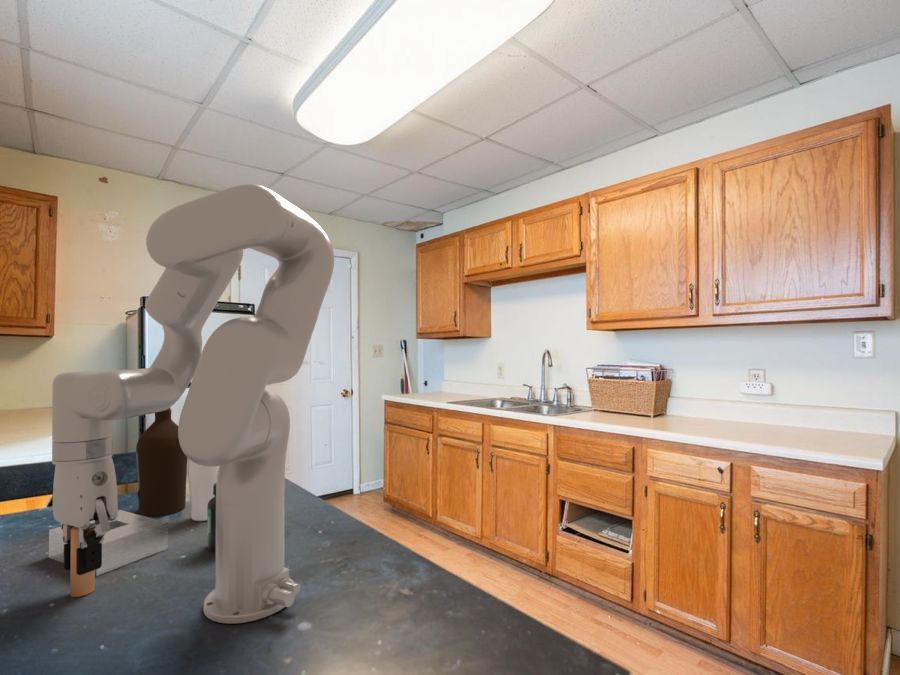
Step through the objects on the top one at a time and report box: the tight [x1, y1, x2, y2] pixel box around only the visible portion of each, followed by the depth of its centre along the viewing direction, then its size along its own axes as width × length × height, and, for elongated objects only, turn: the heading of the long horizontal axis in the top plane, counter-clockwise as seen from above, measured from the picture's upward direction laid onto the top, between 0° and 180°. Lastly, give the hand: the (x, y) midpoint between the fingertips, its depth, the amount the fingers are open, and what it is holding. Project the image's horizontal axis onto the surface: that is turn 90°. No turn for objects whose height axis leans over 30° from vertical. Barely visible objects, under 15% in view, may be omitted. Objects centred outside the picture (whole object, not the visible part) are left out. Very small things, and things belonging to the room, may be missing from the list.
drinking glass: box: [187, 458, 219, 522], centre depth 106 cm, size 7×7×15 cm
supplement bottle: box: [206, 483, 216, 553], centre depth 91 cm, size 7×7×12 cm
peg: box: [69, 527, 96, 598], centre depth 74 cm, size 3×3×10 cm
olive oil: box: [135, 407, 188, 518], centre depth 112 cm, size 11×11×25 cm
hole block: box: [48, 509, 169, 577], centre depth 88 cm, size 16×12×5 cm
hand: (82, 567), depth 73 cm, fingers closed on peg, 3 cm apart
